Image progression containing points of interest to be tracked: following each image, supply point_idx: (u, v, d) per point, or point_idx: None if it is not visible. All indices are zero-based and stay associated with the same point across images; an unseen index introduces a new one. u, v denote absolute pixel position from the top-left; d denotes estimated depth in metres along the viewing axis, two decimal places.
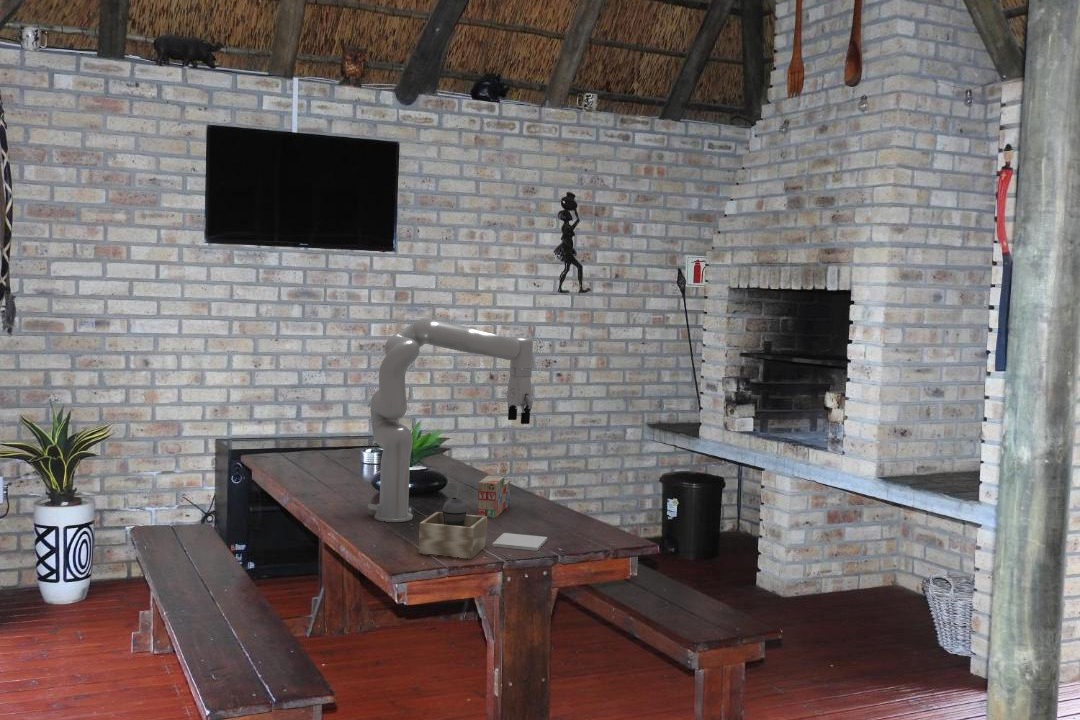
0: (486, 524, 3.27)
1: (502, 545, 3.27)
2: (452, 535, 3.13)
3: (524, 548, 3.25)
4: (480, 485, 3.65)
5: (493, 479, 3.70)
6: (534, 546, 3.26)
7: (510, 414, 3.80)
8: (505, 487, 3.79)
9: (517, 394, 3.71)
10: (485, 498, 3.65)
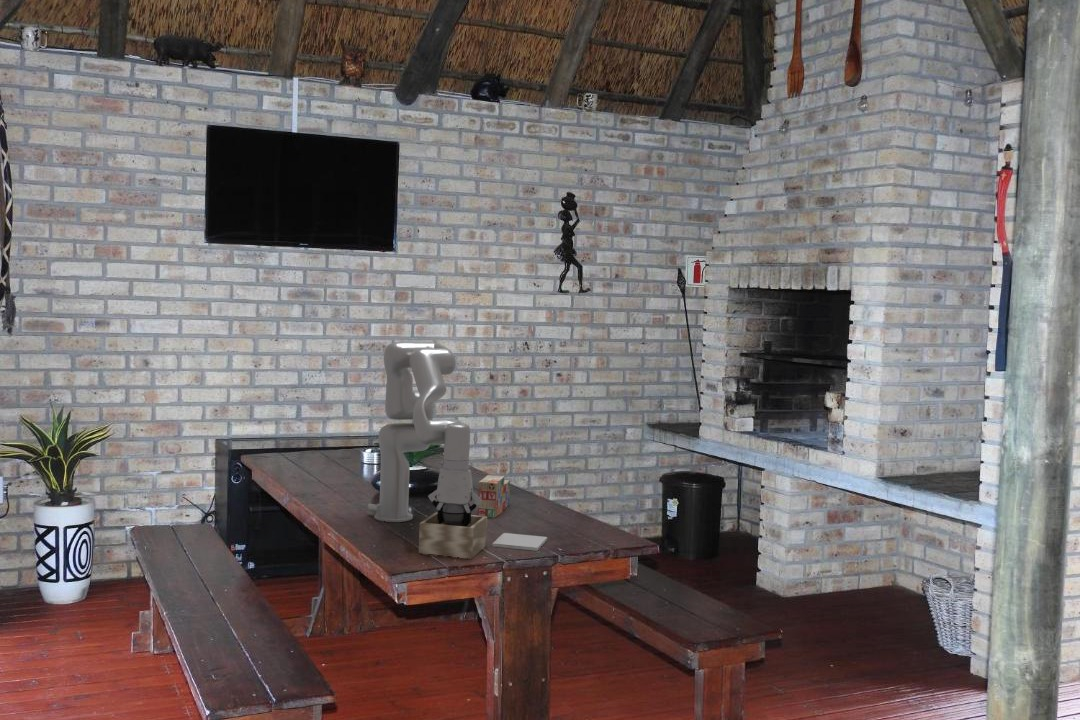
0: (486, 524, 3.27)
1: (502, 545, 3.27)
2: (452, 535, 3.13)
3: (524, 548, 3.25)
4: (480, 485, 3.66)
5: (493, 479, 3.70)
6: (534, 546, 3.26)
7: (441, 517, 3.21)
8: (505, 487, 3.79)
9: (463, 491, 3.17)
10: (485, 498, 3.66)
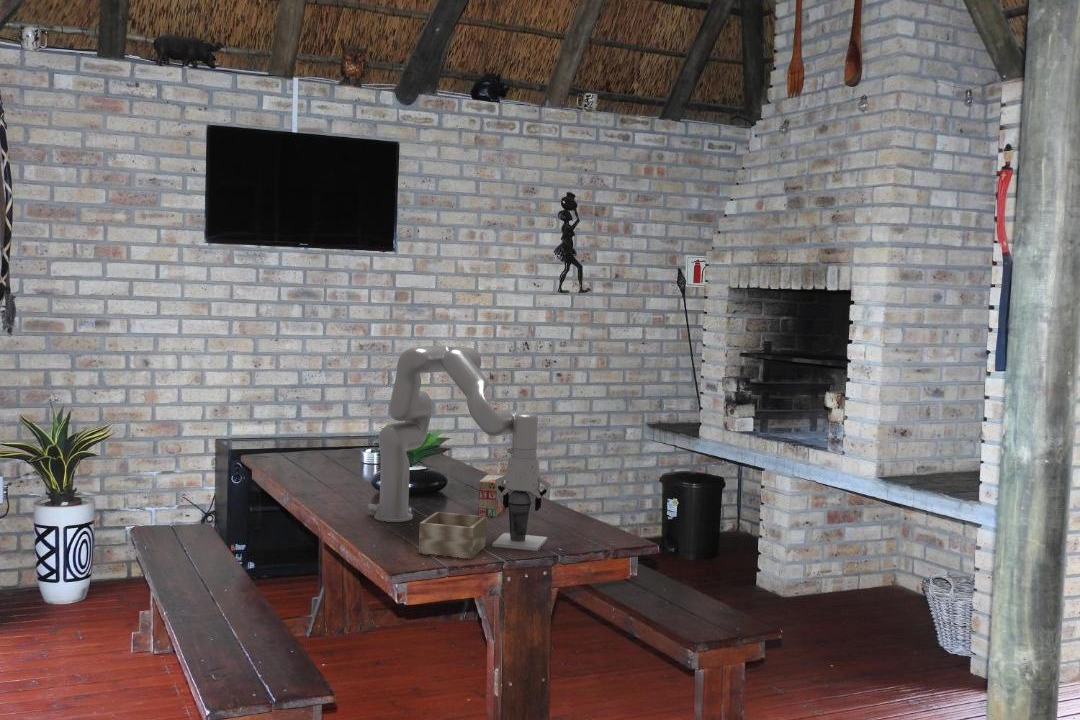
0: (486, 524, 3.27)
1: (502, 545, 3.27)
2: (452, 535, 3.13)
3: (524, 548, 3.25)
4: (481, 484, 3.67)
5: (493, 478, 3.71)
6: (534, 546, 3.26)
7: (507, 501, 3.32)
8: None
9: (532, 478, 3.28)
10: (486, 497, 3.67)
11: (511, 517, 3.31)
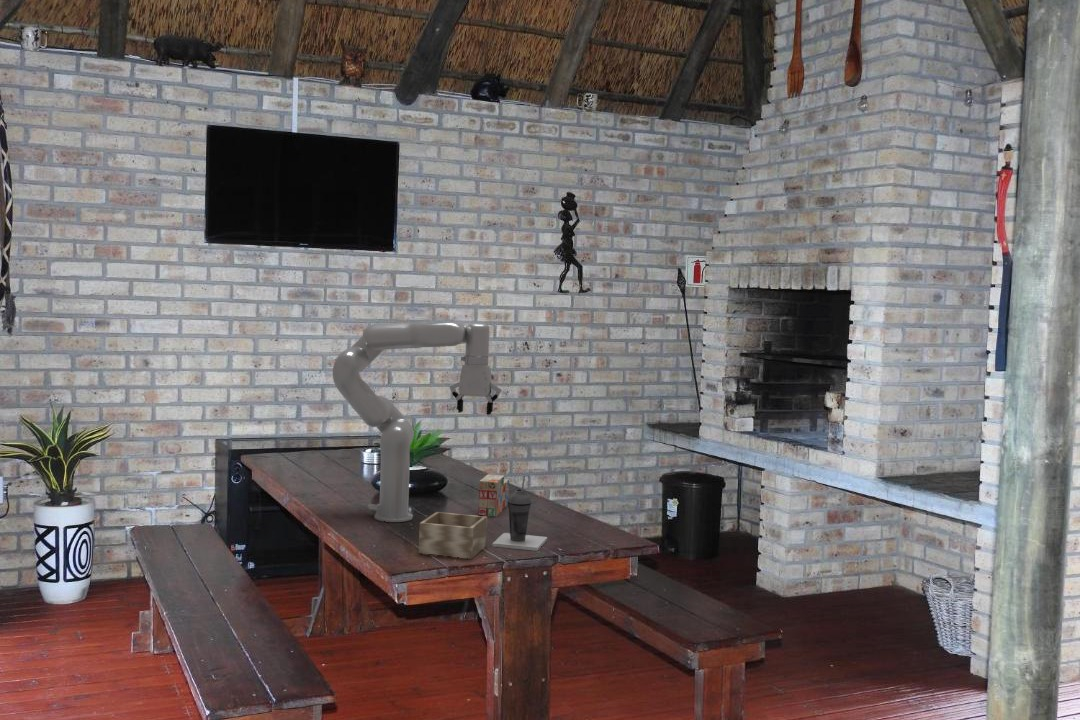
0: (486, 524, 3.27)
1: (502, 545, 3.27)
2: (452, 535, 3.13)
3: (524, 548, 3.25)
4: (481, 484, 3.67)
5: (493, 478, 3.72)
6: (534, 546, 3.26)
7: (460, 406, 3.55)
8: (505, 486, 3.81)
9: (483, 384, 3.51)
10: (486, 497, 3.67)
11: (511, 517, 3.31)
